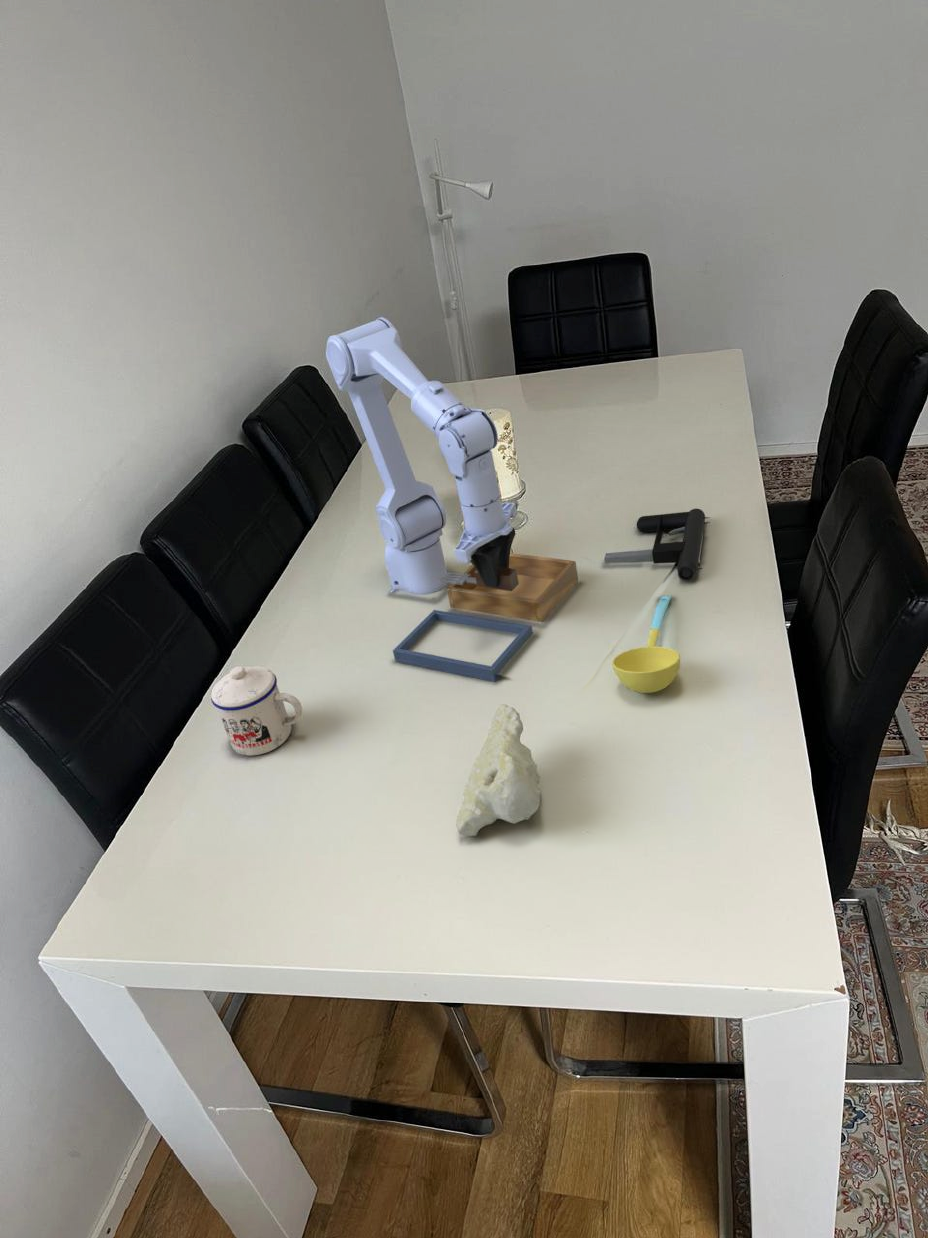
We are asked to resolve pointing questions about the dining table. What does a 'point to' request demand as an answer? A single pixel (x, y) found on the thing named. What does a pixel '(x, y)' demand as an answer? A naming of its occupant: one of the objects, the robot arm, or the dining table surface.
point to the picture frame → (460, 666)
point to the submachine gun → (673, 552)
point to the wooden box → (520, 589)
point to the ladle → (649, 660)
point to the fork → (506, 580)
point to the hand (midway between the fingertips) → (496, 580)
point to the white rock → (500, 778)
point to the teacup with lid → (254, 709)
